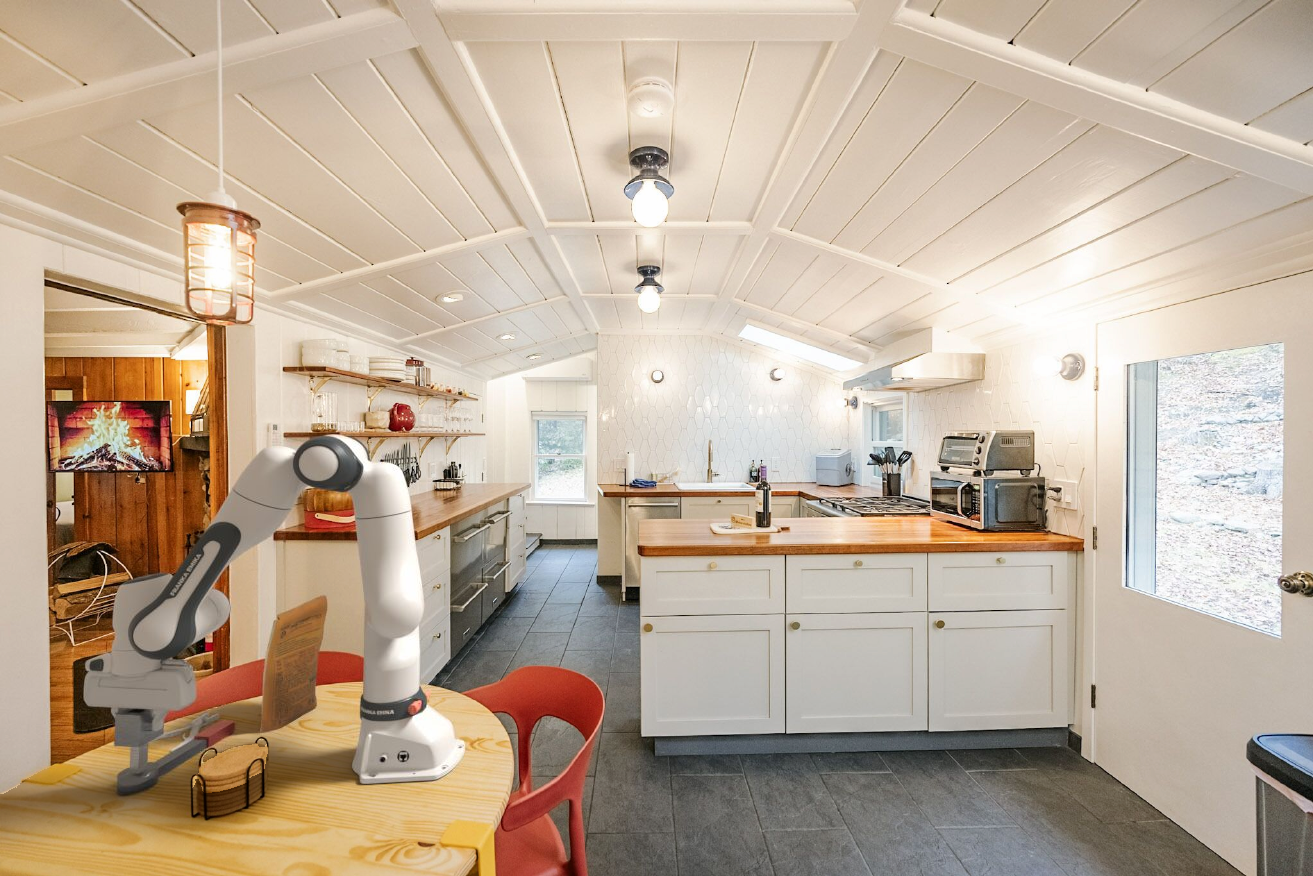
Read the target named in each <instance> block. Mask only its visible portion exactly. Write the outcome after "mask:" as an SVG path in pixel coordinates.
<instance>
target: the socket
mask: <svg viewBox="0 0 1313 876" xmlns="http://www.w3.org/2000/svg"><path fill="white" fill-rule="evenodd" d="M155 716H156V714H155V715H154V714H153V710H152V709H133V708H126V710H124V711H122V712H120V713H117V714H115V718H114V740H113V741H114V743H113V744H114V745H113V746H114V747H126V748H130V747H141V746H142V745H144V744H146V743H148V742H150V741H152V740H154V739H155V738H157V737H159V736H161V735H163V734H164V733H165V732H164V731H165V718H164V719H163V727H162V729H160V730H158V731H148V723H149V722H151V721H153V719H154V718H155ZM152 742H153V741H152ZM150 743H151V742H150ZM148 744H149V743H148Z"/></svg>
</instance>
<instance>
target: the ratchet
mask: <svg viewBox="0 0 1313 876" xmlns="http://www.w3.org/2000/svg"><path fill="white" fill-rule="evenodd" d="M235 726H236V721H233V720H219V721H218V722H217V723H215V724H213V725H211V726H209V727H208V728H206V729H204V730H203V731H200V732H198V734H197V735H195V736H194V739H193V740H191V741H190V742H188V743H186V744H184V745H183V746H181V747H179V748H178V749H176V750H174V751H172V752H169V753H167V754H165V755H163V756H162V757H160V758H159V759H157V760H156V761H148V757H149V743H146V744H144V745H142V746H141V747H129V748H130V750H129V766H128V767H126V768H125V769H123V770H121V771H120V772H119V773H118V774H117V775H116V795H118V796H121V797H123V796H124V797H125V796H126V797H127V796H132V795H136V794H140V793H144V792H145V791H148V790H150V789H151V788H153V787H154V786H156V785H157V784H158V783H159V779H160V778H161V777H163V776H164V775H165V774H168V773H169V772H170V771H173V769H175V768H177V767H178V766H180V765H181V764H184V763H185V762H187V761H189V760H190V759H193V757H194V756H197V755H198V754H200V753H201V752H203V751H204V749H205V750H206V749H209V748H211V747H213V746H214V745H216V744H217V743H219V742H220V741H223V740H224V739H225V738H227V737H229V736H230V735H232V734H233V733H236V732H235V730H236V729H235V728H236V727H235ZM208 747H209V748H208ZM200 751H201V752H200Z"/></svg>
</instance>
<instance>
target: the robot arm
mask: <svg viewBox="0 0 1313 876" xmlns="http://www.w3.org/2000/svg"><path fill="white" fill-rule="evenodd" d="M308 486H309V487H311V488H314V489H317V490H323V491H332V492H338V493H348V494H349V496H350V497H351V500H352V505H353V513H354V523H355V530H356V538H357V546H358V547H357V548H358V556H359V563H360V573H361V582H362V589H363V591H362V593H363V599H364V620H363V621H364V625H363V626H364V629H363V632H364V633H363V634H364V635H363V676H362V677H363V681H362V694H361V696H360V703H359V718H360V728H359V729H360V731H359V735H358V736H359V737H358V741H357V747H356V751H355V754H354V758H353V760H352V763H351V768H352V771H354V772H355V773H356V774H357V775H358V776H359V783H360V784H363V785H364V784H365V785H366V784H367V785H370V784H384V783H402V782H403V783H405V782H419V781H435V780H438V779H441V778H443V777H444V776H446V775H447V774H448V773H450V772H451V771H452V770H454V768H455V767H456V766H457V765H459V763H460V761H461V760H462V758H463V756H464V754H465V752H466V743H465V741H464V740H463V739H458V738H456V736H455V730H454V726H453V723H452V722H451V720H449V718H446V716H444V715H442V714H441V713H439V712H438V711H437V710H436V709H434V708H433V707H431V705H429V704H428V701H427V700H428V698H429V697H431V695H432V694H431V692H432V690H431V689H429V690H428V691H427V692H426V693H425V692H424V691H423V689H422V687H421V685H420V680H421V679H420V678H421V677H420V676H421V674H420V673H421V671H420V670H421V643H420V641H421V640H420V623H421V621H422V619H423V617H424V613H425V606H426V605H425V598H424V595H425V594H424V591H423V583H422V576H421V569H420V563H419V557H418V556H419V555H418V549H417V545H416V544H417V543H416V537H415V536H416V535H415V528H414V527H415V526H414V518H413V509H412V503H411V502H412V501H411V497H410V493H409V488H408V484H407V481H406V478H405V476H404V472H403V470H402V468H400V467H399V466H398V465H396V464H394V463H392V462H387V461H375V462H374V461H371V457H370V452H369V450H368V448H367V447H366V445H365V444H364V443H363V442H362V441H360V440H359V439H357V438H355V437H352V436H350V435H349V436H348V435H341V434H337V433H336V434H326V435H319V436H318V435H317V436H314V437H312V438H308V440H306V441H304V442H303V443H302V444H301V445H299V447H298V448H297V449H294V448H292V447H288V446H283V445H271V446H267V447H264V448H263V449H262V450H260V451H259V452H258V453H257V454H256V456H255V457H254V458H253V459H252V460H251V461H250V462H249V464H248V465H247V466H246V467H245V469H244V470H243V471H242V472H241V474H240V475H239V476H238V478H237V480H236V481H235V483H234V485H233V487H232V488H231V489H230V492H229V493H228V494H227V497H226V498H225V500H224V501H223V504H222V505H221V506H220V508H219V510H218V512H217V513H216V515H215V516H214V518H213V519H212V521H211V522H210V523H209V525H208V526H207V528H206V529H205V531H204V532H203V534H202V535H201V537H200V538H199V539H198V540H197V542H196V543H195V545H194V546H193V547H192V549H191V550H190V551H189V553H188V554H187V556H186V557H185V558H184V560H183V562H182V563H181V564H180V565H179V567H178V568H177V570H176V571H175V573H174V574H173V575H172V574H171V573H168V572H157V573H155V572H154V573H152V574H151V573H150V574H147V575H146V574H145V575H142V576H137V577H134V578H131V579H129V580H127V581H124V582H123V583H121V584H120V586H119V587H118V589H117V592H116V593H115V597H114V603H113V611H112V628H113V631H114V640H113V642H112V645H111V651H107V652H106V653H102V654H100V655H98V656H95V657H91V658H90V659H88V660H86V661H85V665H84V666H85V670H86V671H87V673H86V674H85V677H84V681H83V682H84V683H83V684H84V685H83V701H84V702H85V704H86V705H87V706H88V707H93V708H95V707H99V708H111V710H110V713H111V715H112V716H113V718H114V719H115V714H117V713H120V712H122V711H124V710H126V709H128V708H133V709H152V710H153V714H154V715H155V714H156V716H155V718H154V719H153V721H151V722H149V723H148V731H158V730H160V729H162V727H163V719H164V720H165V718H166V716H168V714H169V712H170V711H175V712H176V711H178V712H179V711H182V710H183V709H186V708H187V707H189V706H191V705H193V703H195V701H196V700H197V684H196V683H197V682H196V677H195V672H194V667H193V665H192V664H191V663H189V662H188V661H187V660H186V659H173V658H174V657H176V656H178V655H179V654H181V653H182V652H184V651H185V650H186V649H188V648H189V647H191V646H192V645H194V644H196V643H197V642H199V641H200V640H202V639H204V638H206V637H207V636H208V635H211V634H212V633H214V632H215V631H217V630H219V629H220V628H221V627H223V626H224V625H225V623H226V622H227V621H228V620H229V618H230V615H231V603H230V600H229V598H228V597H227V595H226V594H225V593H224V592H222V590H220V589H216V588H214V586H215V585H216V583H217V581H218V580H219V578H220V577H221V575H222V574H223V572H224V571H225V570H226V569H227V567H228V566H229V565H230V564H231V563H233V562H234V561H236V559H237V558H239V557H240V556H241V555H243V554H245V552H247V551H249V550H250V549H251V548H254V547H256V546H257V545H259V544H260V543H262V542H264V541H265V540H267V539H269V538H270V537H272V535H274V534H275V533H276V531H277V530H278V529H279V528H280V527H281V526H282V524H283V523H284V521H285V520H286V519H287V518H288V516H289V514H290V513H291V511H292V509H293V507H294V506H295V504H296V502H297V500H298V498H299V497H300V495H301V494H302V493H303V491H304V490H305V489H306V488H308Z"/></svg>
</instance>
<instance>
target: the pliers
mask: <svg viewBox="0 0 1313 876" xmlns="http://www.w3.org/2000/svg"><path fill="white" fill-rule="evenodd" d="M220 715H221V714H220V712H219V713H215V714H213V715H211V716H210V711H209V712H205V713H202V715H199V716H198V717H196V718H194V719H193V720H192V721H190V725H187V726H185V727H181V728H178V729H173V730H169V731H166V732H164V734H163V735H161V736H159V737H157V738H155V739H154V740H152V741H150V742H148V744H150V743H153V742H155V741H157V740H163V739H168V738H173V737H176V736H179V735H181V733H183V732H185V731H188V730H190V729H191V730H190V732H189V736H188V737H185V736H186V732H185V733H183V735H182V739H183V741H182V742H181V743H180V744H178V745H177V746H175V747H174V748H172V749H170V750H169V753H171V752H172V751H174V750H176V749H178V748H179V747H181V746H183V745H184V744H186V743H188V742H190V741H191V740H193V739H194V736H195V735H197V734H199V731H200V730H201V729H202V727H205V726H207V725H210V724H212V723H214V722H216V721H217V720H220V717H221V716H220Z"/></svg>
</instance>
